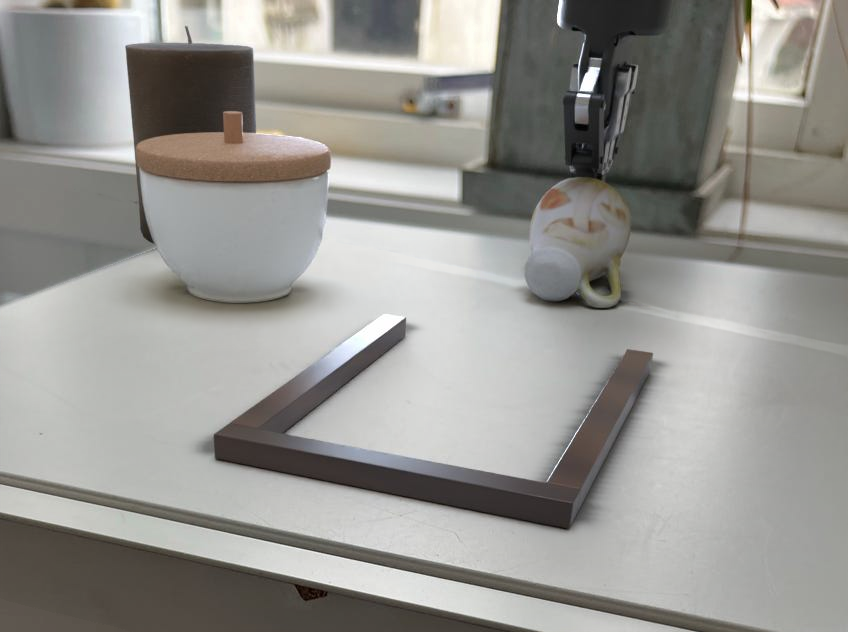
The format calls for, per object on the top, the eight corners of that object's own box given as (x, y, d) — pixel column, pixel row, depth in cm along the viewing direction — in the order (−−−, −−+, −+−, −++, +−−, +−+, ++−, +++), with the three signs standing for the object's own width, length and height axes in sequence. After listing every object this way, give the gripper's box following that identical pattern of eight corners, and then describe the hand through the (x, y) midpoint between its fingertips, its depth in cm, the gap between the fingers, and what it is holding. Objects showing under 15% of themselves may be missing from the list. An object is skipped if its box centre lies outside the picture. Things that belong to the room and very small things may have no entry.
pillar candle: (210, 256, 78) (197, 31, 70) (116, 238, 82) (94, 23, 74) (283, 235, 85) (280, 27, 77) (193, 219, 89) (181, 20, 81)
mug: (494, 305, 70) (501, 157, 69) (544, 338, 78) (551, 206, 77) (600, 294, 66) (609, 137, 65) (640, 329, 74) (648, 191, 74)
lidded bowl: (362, 302, 69) (367, 121, 63) (187, 324, 63) (173, 128, 57) (282, 260, 78) (279, 98, 72) (123, 277, 72) (105, 103, 66)
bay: (383, 333, 63) (383, 313, 62) (649, 373, 58) (653, 352, 57) (214, 458, 46) (212, 434, 46) (569, 529, 41) (573, 503, 41)
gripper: (665, -52, 60) (613, 251, 70) (695, -48, 70) (646, 217, 80) (542, -58, 62) (508, 237, 72) (589, -53, 72) (554, 205, 82)
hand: (581, 226), depth 76 cm, fingers closed
